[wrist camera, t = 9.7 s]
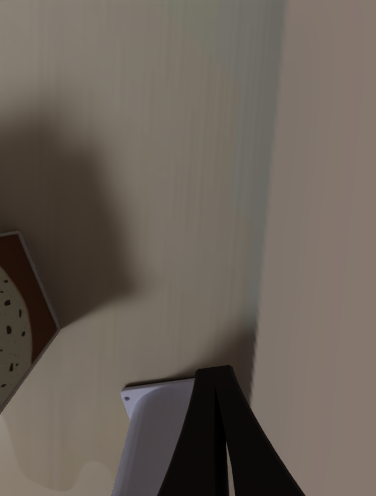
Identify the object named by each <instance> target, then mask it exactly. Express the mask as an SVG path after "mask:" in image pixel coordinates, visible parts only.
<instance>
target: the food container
mask: <svg viewBox="0 0 376 496" xmlns="http://www.w3.org/2000/svg"><path fill="white" fill-rule="evenodd" d="M60 330H61V327H60V325H59V323H58V320H57V318H56V315H55V313H54V311H53V308H52V306H51V303H50V301H49V299H48V296H47V294H46V291H45V289H44V287H43V284H42V282H41V279H40V277H39V274H38V272H37V270H36V267H35V265H34V262H33V260H32V258H31V255H30V253H29V250H28V248H27V246H26V243H25V241H24V238H23V236H22V234H21V231H20V230H19V231H12V232H6V233H0V414H1V412H2V411H3V409H4V408H5V407H6V405H7V404H8V403H9V401H10V400H11V398H12V397H13V396H14V394H15V393H16V391H17V390H18V389H19V387H20V386H21V384H22V383H23V382H24V380H25V379H26V377H27V376H28V375H29V373H30V372H31V370H32V369H33V368H34V366H35V365H36V363H37V362H38V361H39V359H40V358H41V357H42V355H43V354H44V352H45V351H46V350H47V348H48V347H49V345H50V344H51V343H52V341H53V340H54V338H55V337H56V336H57V334H58V333H59V331H60Z"/></svg>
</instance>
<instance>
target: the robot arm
mask: <svg viewBox="0 0 376 496" xmlns="http://www.w3.org/2000/svg"><path fill="white" fill-rule="evenodd" d="M121 397H122V400H123V403H124V405H125V408H126V411H127V414H128V416H129V419H130V424H129V428H128V432H127V436H126V440H125V444H124V448H123V451H122V455H121V459H120V463H119V467H118V471H117V475H116V479H115V483H114V487H113V491H112V495H111V496H229V483H228V466H227V450H226V442H227V447H228V452H229V456H230V461H231V466H232V474H233V482H234V489H235V496H305V495H304V493H303V492H302V490H301V489H300V487H299V486H298V485H297V483H296V481H295V480H294V479H293V477H292V476H291V474H290V473H289V471H288V470H287V468H286V466H285V465H284V463H283V462H282V461H281V459H280V457H279V456H278V454H277V453H276V451H275V449H274V448H273V446H272V444H271V443H270V441H269V440H268V438H267V436H266V435H265V433H264V431H263V430H262V428H261V426H260V425H259V423H258V421H257V419H256V417H255V416H254V414H253V412H252V410H251V408H250V407H249V405H248V403H247V401H246V399H245V397H244V395H243V393H242V390H241V388H240V386H239V384H238V382H237V379H236V376H235V374H234V371H233V367H232V366H230V365H225V366H218V367H211V368H204V369H198V370H197V371H196V373H195V378H192V379H184V380H177V381H170V382H163V383H155V384H148V385H141V386H133V387H126V388H123V389H122V391H121Z"/></svg>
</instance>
